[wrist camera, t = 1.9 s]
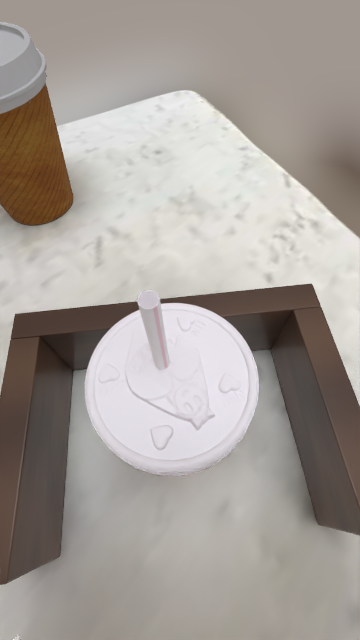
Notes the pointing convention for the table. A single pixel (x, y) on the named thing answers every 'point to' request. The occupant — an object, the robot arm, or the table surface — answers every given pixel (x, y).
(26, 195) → the disposable coffee cup
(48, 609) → the table surface
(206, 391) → the smoothie
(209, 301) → the frame
